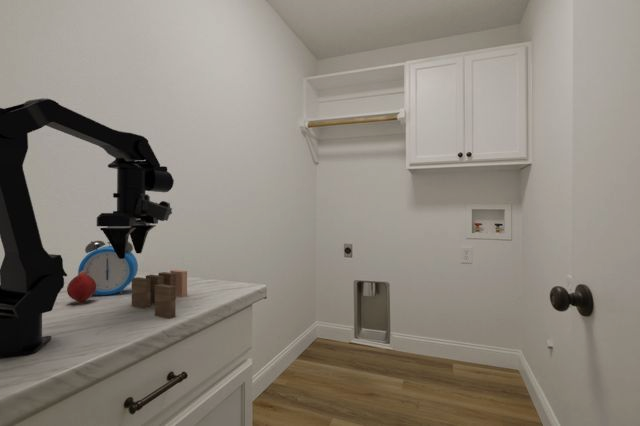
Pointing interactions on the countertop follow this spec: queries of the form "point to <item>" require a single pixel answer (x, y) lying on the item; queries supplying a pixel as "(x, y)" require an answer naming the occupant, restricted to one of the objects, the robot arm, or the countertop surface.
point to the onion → (81, 287)
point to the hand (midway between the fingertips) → (130, 255)
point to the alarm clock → (108, 267)
